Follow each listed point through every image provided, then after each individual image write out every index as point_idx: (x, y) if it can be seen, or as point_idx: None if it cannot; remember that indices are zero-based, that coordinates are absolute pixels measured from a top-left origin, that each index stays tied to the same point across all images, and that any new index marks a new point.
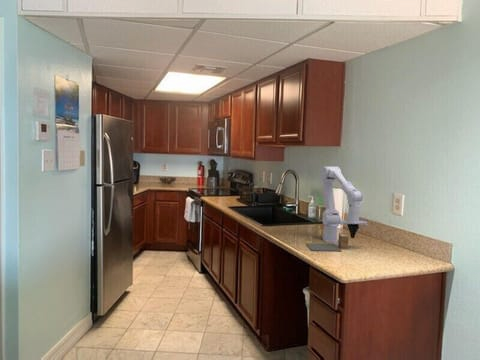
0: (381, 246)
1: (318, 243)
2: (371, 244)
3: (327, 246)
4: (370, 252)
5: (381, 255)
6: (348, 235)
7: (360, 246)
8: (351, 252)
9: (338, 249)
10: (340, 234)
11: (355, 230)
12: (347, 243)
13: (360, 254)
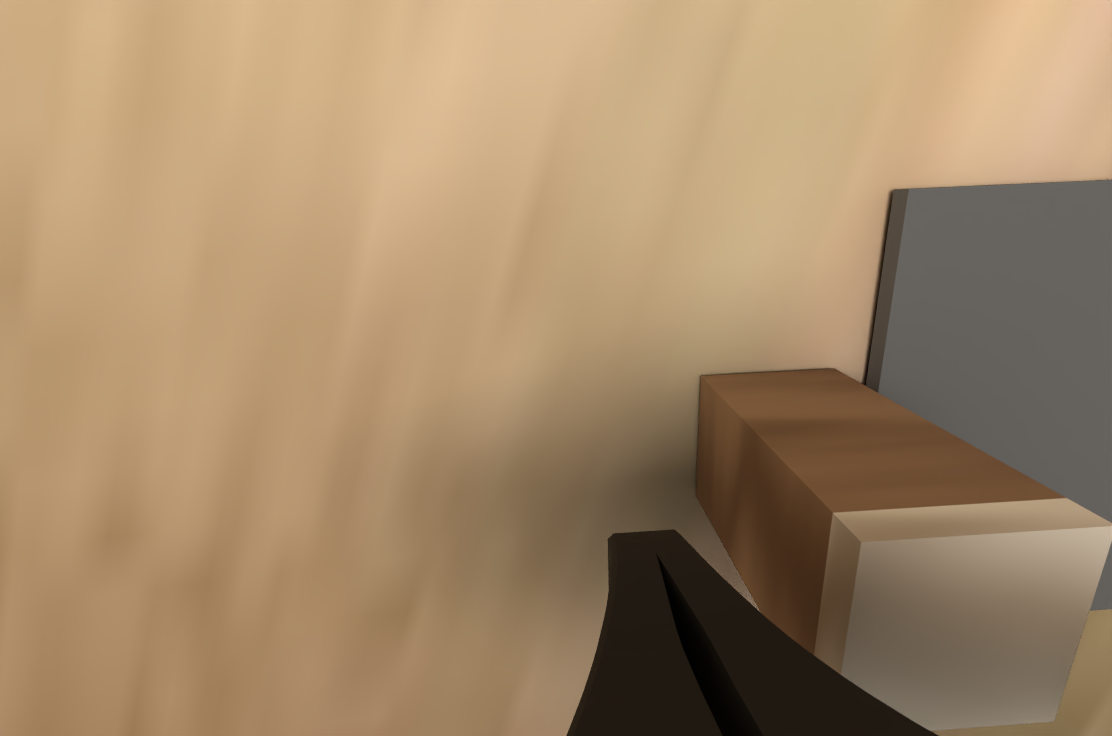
0: (36, 650)
1: (1099, 608)
2: (193, 732)
3: (1041, 451)
4: (306, 231)
5: (103, 4)
6: (849, 530)
7: (405, 601)
8: (696, 185)
9: (933, 266)
10: (1080, 591)
11: (654, 716)
12: (757, 417)
13: (558, 41)
